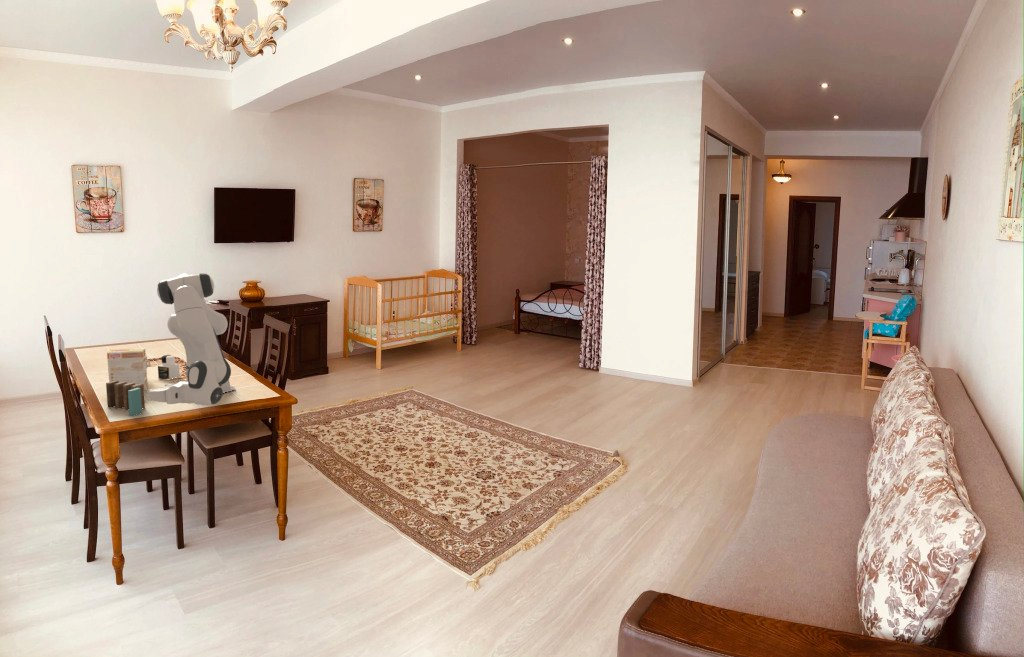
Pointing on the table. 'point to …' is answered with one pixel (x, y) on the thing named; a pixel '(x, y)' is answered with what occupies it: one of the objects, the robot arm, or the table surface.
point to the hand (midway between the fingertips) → (157, 389)
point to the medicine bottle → (168, 368)
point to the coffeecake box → (128, 366)
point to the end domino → (111, 393)
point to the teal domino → (134, 401)
